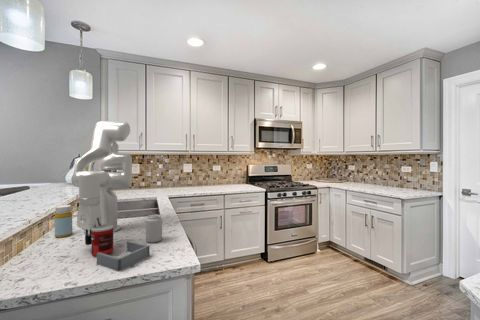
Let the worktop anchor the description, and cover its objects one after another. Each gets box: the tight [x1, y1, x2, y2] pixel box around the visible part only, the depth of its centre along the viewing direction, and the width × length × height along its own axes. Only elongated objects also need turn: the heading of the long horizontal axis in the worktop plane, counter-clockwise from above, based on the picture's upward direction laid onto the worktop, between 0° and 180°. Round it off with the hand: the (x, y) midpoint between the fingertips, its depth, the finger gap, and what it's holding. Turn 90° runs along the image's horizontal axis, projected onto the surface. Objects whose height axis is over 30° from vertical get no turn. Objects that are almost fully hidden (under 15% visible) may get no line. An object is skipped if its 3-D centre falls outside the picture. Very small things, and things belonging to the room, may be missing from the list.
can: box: [144, 213, 163, 244], centre depth 110 cm, size 8×8×12 cm
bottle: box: [54, 204, 73, 239], centre depth 116 cm, size 7×7×15 cm
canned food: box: [91, 225, 114, 258], centre depth 95 cm, size 8×8×11 cm
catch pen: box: [96, 240, 151, 272], centre depth 90 cm, size 12×14×4 cm
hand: (90, 243), depth 99 cm, fingers closed
